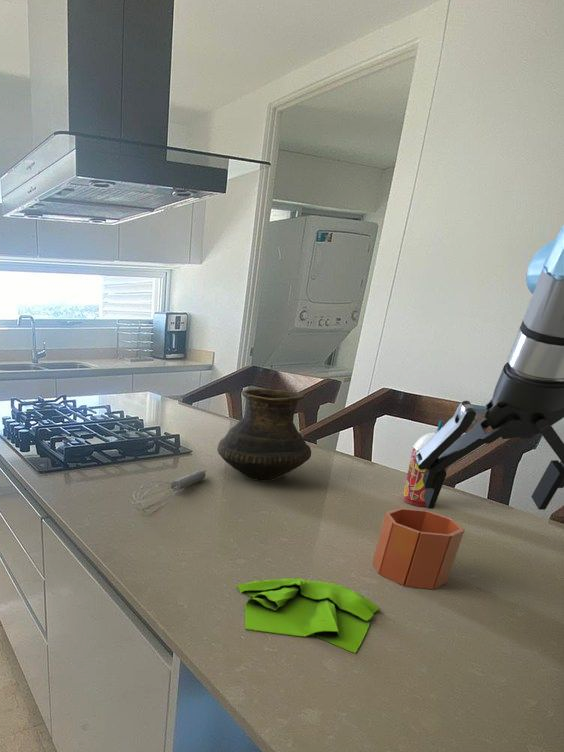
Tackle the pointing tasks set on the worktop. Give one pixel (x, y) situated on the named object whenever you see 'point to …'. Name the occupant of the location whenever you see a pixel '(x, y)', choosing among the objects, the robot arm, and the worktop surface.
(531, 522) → the worktop surface
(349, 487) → the worktop surface
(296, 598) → the cloth
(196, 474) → the kitchen whisk
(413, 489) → the smoothie
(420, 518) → the cup
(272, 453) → the ceramic pot
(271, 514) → the worktop surface
